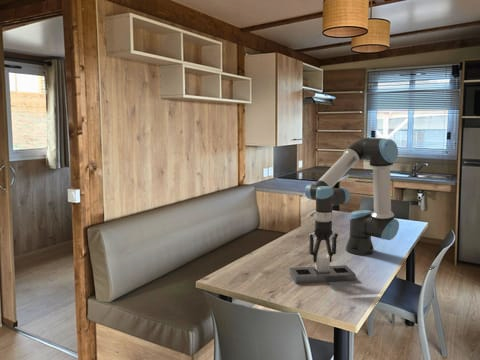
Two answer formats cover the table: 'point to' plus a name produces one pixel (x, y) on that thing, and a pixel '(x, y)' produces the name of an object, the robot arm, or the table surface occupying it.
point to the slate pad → (342, 286)
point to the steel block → (323, 264)
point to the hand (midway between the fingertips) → (322, 268)
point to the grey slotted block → (322, 275)
